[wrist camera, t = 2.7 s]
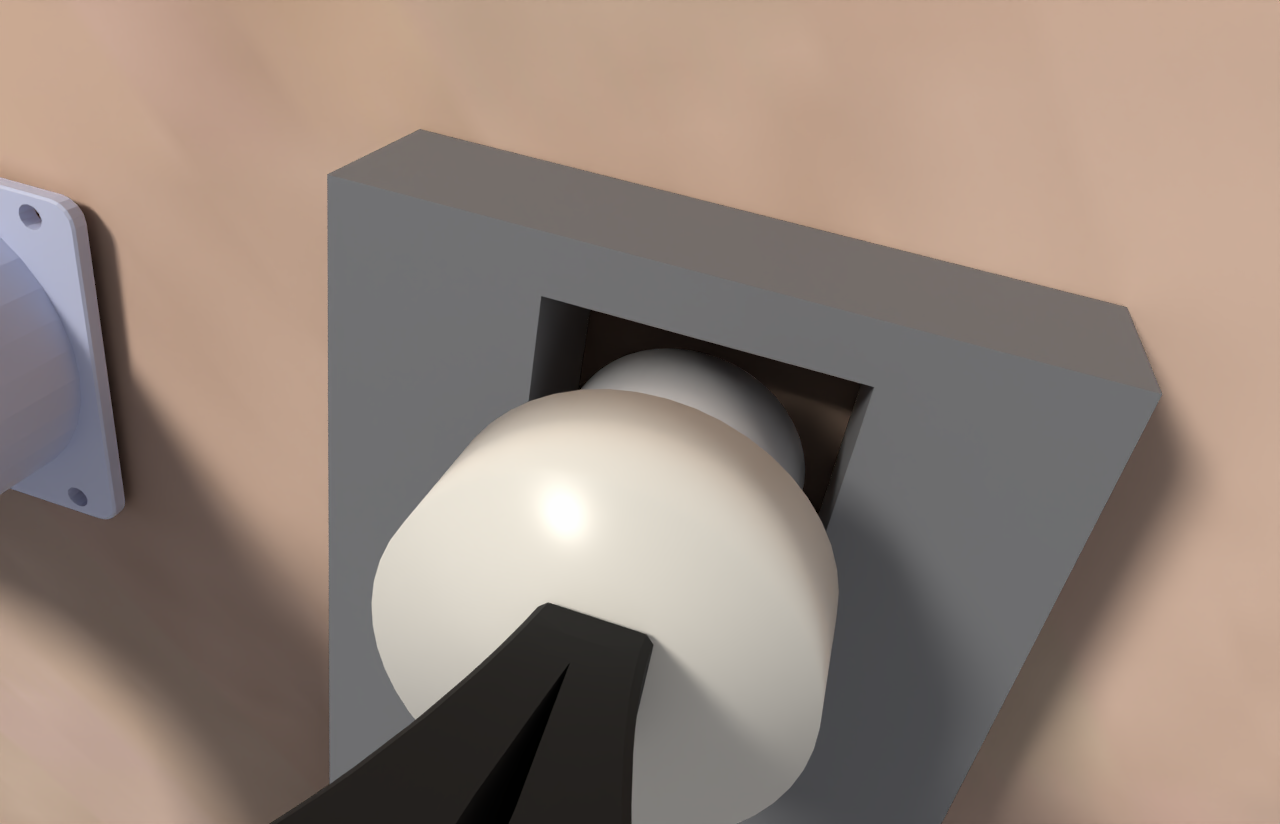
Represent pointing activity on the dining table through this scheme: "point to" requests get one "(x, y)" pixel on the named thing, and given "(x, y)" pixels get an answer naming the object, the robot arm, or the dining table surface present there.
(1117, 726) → the dining table surface
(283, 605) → the dining table surface
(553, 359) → the mount
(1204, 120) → the dining table surface
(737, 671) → the knob
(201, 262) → the dining table surface
